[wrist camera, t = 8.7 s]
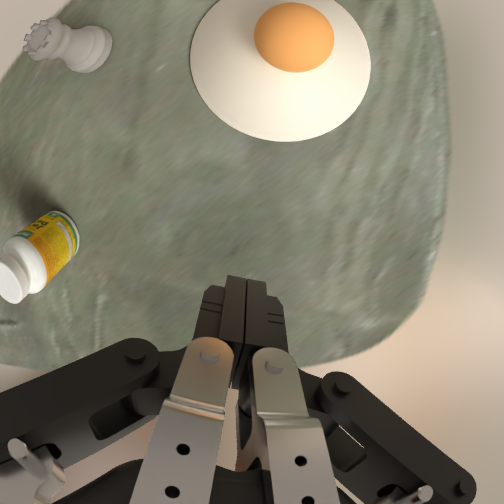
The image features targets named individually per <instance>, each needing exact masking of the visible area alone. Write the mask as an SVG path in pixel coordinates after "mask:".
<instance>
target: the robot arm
mask: <svg viewBox="0 0 504 504" xmlns="http://www.w3.org/2000/svg"><path fill="white" fill-rule="evenodd" d="M231 382H232V389H238V390H239V397H238V401H237V404H236V407H235V412H236V413H235V414H236V435H237V436H236V438H237V459H236V464H235V471H231V470H228V469H225V468H223V467H220V466H217V465H216V461H217V455H218V450H219V444H220V439H221V433H222V428H223V422H224V415H225V412H224V408H225V402H226V397H227V391H228V388H230V385H231ZM157 415H159V416H158V419H157V422H156V425H155V428H154V430H153V433H152V436H151V440H150V442H149V445H148V448H147V451H146V454H145V457H144V459H138V460H133V461H130V462H126V463H124V464H121V465H119V466H117V467H115V468H113V469H112V470H110V471H108V472H107V473H105V474H104V475H102V476H100V477H99V478H97V479H95V480H94V481H92V482H90V483H89V484H87V485H85V486H83V487H82V488H80V489H78V490H76V491H74V492H73V493H71V494H69V495H67V496H65V497H63V498H62V499H60V500H58V501H56V502H54V503H52V504H356V503H355V502H354V501H353V500H352V499H351V498H350V497H349V496H348V495H347V494H346V493H344V492H343V491H342V490H341V489H340V488H338V487H337V486H336V483H335V479H334V477H335V478H336V479H337V480H338V481H339V482H340V483H341V484H343V485H344V486H345V487H346V488H347V489H348V490H349V491H350V492H352V493H353V494H354V495H355V496H356V497H357V498H359V499H360V500H361V501H362V502H363V503H364V504H470V503H471V502H472V501H473V499H474V498H475V495H476V482H475V480H474V478H473V476H472V475H471V474H469V473H468V472H467V471H466V470H465V469H463V468H462V467H460V466H459V465H458V464H457V463H456V462H454V461H453V460H452V459H451V458H449V457H448V456H447V455H446V454H444V453H443V452H442V451H441V450H439V449H438V448H437V447H436V446H435V445H433V444H432V443H431V442H430V441H428V440H427V439H426V438H425V437H423V436H422V435H421V434H420V433H418V432H417V431H416V430H415V429H414V428H413V427H411V426H410V425H409V424H407V423H406V422H405V421H404V420H403V419H402V418H401V417H399V416H398V415H397V414H396V413H395V412H393V411H392V410H391V409H390V408H389V407H387V406H386V405H385V404H384V403H383V402H381V401H380V400H379V399H378V398H377V397H375V396H374V395H373V394H372V393H371V392H370V391H369V390H367V389H366V388H365V387H364V386H363V385H362V384H360V383H359V382H358V381H357V380H356V379H355V378H353V377H352V376H350V375H349V374H346V373H343V372H330V373H328V374H326V375H325V376H324V377H323V379H322V378H319V377H317V376H314V375H311V374H308V373H306V372H304V371H302V370H300V369H299V368H298V367H297V364H296V361H295V360H294V358H293V357H292V356H291V355H290V354H289V353H288V344H287V336H286V327H285V319H284V311H283V306H282V304H281V303H280V301H279V300H278V298H277V297H273V296H267V291H266V282H262V281H256V280H251V279H247V281H246V278H241V277H236V276H231V275H228V276H227V280H226V285H225V287H220V286H215V285H211V286H210V287H209V288H208V289H207V290H206V291H205V292H204V295H203V299H202V303H201V307H200V311H199V315H198V320H197V324H196V328H195V332H194V336H193V339H192V341H191V342H190V343H189V345H187V346H186V347H184V348H183V349H180V350H176V351H165V352H158V350H157V348H156V347H155V346H154V345H153V344H152V343H150V342H149V341H147V340H144V339H140V338H128V339H124V340H122V341H120V342H117V343H115V344H113V345H111V346H108V347H106V348H104V349H102V350H99V351H97V352H95V353H93V354H90V355H88V356H86V357H84V358H81V359H79V360H77V361H75V362H72V363H70V364H68V365H65V366H63V367H61V368H58V369H56V370H54V371H51V372H49V373H47V374H45V375H42V376H40V377H37V378H35V379H33V380H30V381H28V382H26V383H23V384H21V385H18V386H16V387H13V388H11V389H9V390H6V391H4V392H1V393H0V504H49V503H50V500H51V498H52V497H53V496H54V494H56V493H57V492H59V491H60V490H61V489H62V487H63V486H64V483H65V472H64V469H65V468H67V467H69V466H70V465H73V464H75V463H77V462H78V461H80V460H82V459H84V458H86V457H88V456H90V455H92V454H94V453H96V452H98V451H99V450H101V449H103V448H105V447H107V446H108V445H110V444H112V443H114V442H115V441H117V440H119V439H120V438H123V437H124V436H126V435H127V434H129V433H131V432H133V431H134V430H136V429H138V428H139V427H141V426H143V425H144V424H146V423H148V422H149V421H151V420H153V419H154V418H155V417H156V416H157ZM339 425H340V426H341V427H342V428H343V429H344V430H345V431H346V432H348V433H349V434H350V435H351V436H352V437H353V438H354V439H355V440H356V441H357V442H359V443H360V444H361V445H362V446H363V447H364V448H363V447H361V446H360V445H359V444H358V443H357V442H356V441H355V440H354V439H352V438H351V437H350V436H349V435H348V434H347V433H346V432H345V431H344V430H342V429H341V428H340V427H339Z"/></svg>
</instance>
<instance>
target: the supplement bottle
mask: <svg viewBox="0 0 504 504" xmlns="http://www.w3.org/2000/svg"><path fill="white" fill-rule="evenodd" d="M78 247H79V233H78V230H77V227H76V226H75V224H74V222H73V221H72V220H71V219H70V217H68V216H67V215H66V214H64V213H62V212H59V211H51V212H49V213H47V214H45V215H44V216H42V217H41V218H39V219H38V220H36V221H34V222H33V223H32V224H30V225H29V226H27V227H26V228H24V229H23V230H22V231H20V232H19V233H17V234H16V235H14V236H13V237H11V238H10V239H9V240H8V241H7V242H6V244H5V245H4V248H3V252H2V255H0V295H1V296H2V297H3V298H4V299H5V300H7V301H8V302H10V303H14V304H16V303H19V302H20V301H21V300H22V299H23V298H24V297H25V296H26V295H27V294H28V293H37V292H39V291H40V290H41V289H42V288H43V287H44V286H45V285H46V284H47V283H48V282H49V281H50V280H51V279H52V278H53V277H54V276H55V275H56V273H57V272H58V271H59V270H60V269H61V268H62V267H63V266H64V265H65V264H66V263H67V262H68V261H69V260H70V259H71V258H72V257H73V256H74V255H75V254H76V253H77V250H78Z"/></svg>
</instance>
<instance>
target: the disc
mask: <svg viewBox="0 0 504 504" xmlns="http://www.w3.org/2000/svg"><path fill="white" fill-rule="evenodd" d="M289 2H295V3H302V4H306V5H309V6H311V7H313V8H315V9H316V10H318V11H319V12H321V13H322V14H323V15H324V16H325V17H326V18H327V20H328V21H329V23H330V25H331V27H332V29H333V33H334V46H333V50H332V52H331V54H330V56H329V57H328V59H327V60H326V61H325V62H324V63H323V64H321V65H320V66H318V67H317V68H315V69H313V70H310V71H306V72H298V73H294V72H286V71H283V70H280V69H277V68H275V67H273V66H272V65H270V64H269V63H268V62H266V61H265V60H264V59H263V58H262V56H261V55H260V54H259V52H258V50H257V48H256V46H255V41H254V29H255V26H256V23H257V21H258V20H259V18H260V17H261V15H262V14H263V13H264V12H266V11H267V10H268V9H270V8H271V7H273V6H276V5H278V4H282V3H289ZM190 64H191V72H192V76H193V80H194V83H195V85H196V87H197V90H198V92H199V94H200V95H201V97H202V99H203V100H204V102H205V103H206V104H207V106H208V107H209V108H210V109H211V110H212V111H213V112H214V113H215V114H216V115H217V116H218V117H219V118H220V119H221V120H223V121H224V122H226V123H227V124H228V125H230V126H231V127H233V128H235V129H237V130H239V131H241V132H243V133H245V134H248V135H250V136H253V137H257V138H260V139H265V140H271V141H283V142H289V141H300V140H305V139H310V138H313V137H317V136H320V135H322V134H324V133H327V132H329V131H331V130H332V129H334V128H336V127H337V126H339V125H340V124H341V123H343V122H344V121H345V120H346V119H348V118H349V117H350V115H351V114H352V113H353V112H354V111H355V110H356V108H357V107H358V105H359V104H360V103H361V101H362V99H363V97H364V95H365V93H366V90H367V87H368V83H369V78H370V66H371V62H370V54H369V50H368V46H367V42H366V40H365V38H364V35H363V33H362V31H361V29H360V28H359V26H358V24H357V23H356V22H355V20H354V19H353V18H352V16H351V15H350V14H349V13H348V12H347V11H346V10H345V9H344V8H343V7H342V6H341V5H339V4H338V3H337V2H335V1H334V0H220V1H219V2H218V3H216V4H215V5H214V6H213V7H212V8H211V9H210V10H209V11H208V12H207V13H206V15H205V16H204V17H203V19H202V20H201V22H200V24H199V26H198V27H197V29H196V32H195V34H194V37H193V40H192V45H191V51H190Z"/></svg>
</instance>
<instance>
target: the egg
mask: <svg viewBox="0 0 504 504" xmlns="http://www.w3.org/2000/svg"><path fill="white" fill-rule="evenodd" d="M254 41H255V46H256V48H257V50H258V52H259V54H260V55H261V56H262V58H263V59H264V60H265V61H266V62H268V63H269V64H270V65H272V66H273V67H275V68H277V69H280V70H283V71H286V72H294V73H298V72H306V71H310V70H313V69H315V68H317V67H318V66H320V65H321V64H323V63H324V62H325V61H326V60H327V59H328V57H329V56H330V54H331V52H332V50H333V46H334V33H333V29H332V27H331V25H330V23H329V21H328V20H327V18H326V17H325V16H324V15H323V14H322V13H321V12H319V11H318V10H316V9H315V8H313V7H311V6H309V5H306V4H302V3H295V2H289V3H282V4H278V5H276V6H273V7H271V8H270V9H268V10H267V11H266V12H264V13H263V14H262V15H261V17H260V18H259V20H258V21H257V23H256V26H255V29H254Z"/></svg>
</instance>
